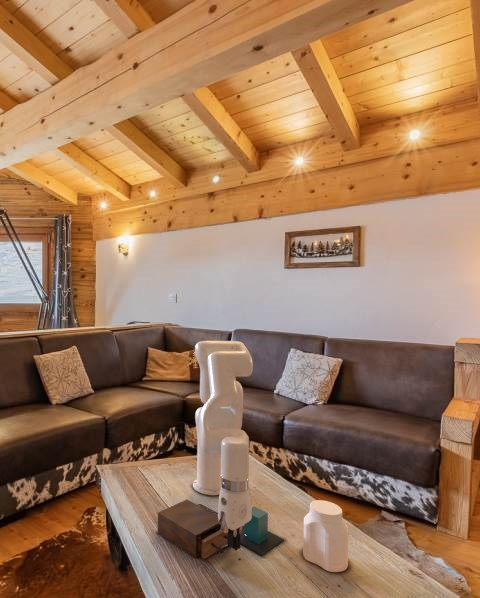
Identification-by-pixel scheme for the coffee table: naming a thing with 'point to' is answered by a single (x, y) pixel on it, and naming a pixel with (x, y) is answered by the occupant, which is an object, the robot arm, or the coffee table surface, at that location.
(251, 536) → the box
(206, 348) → the robot arm
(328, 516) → the jar
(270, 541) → the mat
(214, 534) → the drawer
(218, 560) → the coffee table surface
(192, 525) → the cabinet
